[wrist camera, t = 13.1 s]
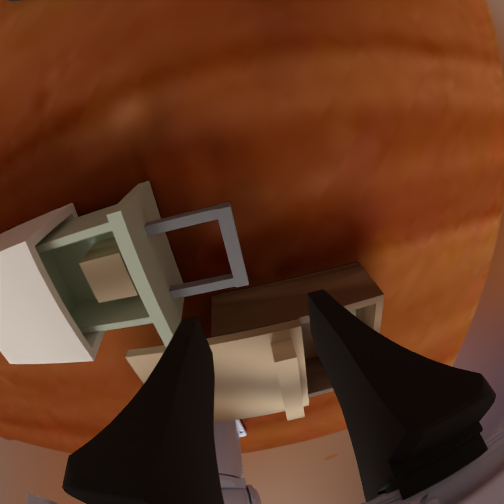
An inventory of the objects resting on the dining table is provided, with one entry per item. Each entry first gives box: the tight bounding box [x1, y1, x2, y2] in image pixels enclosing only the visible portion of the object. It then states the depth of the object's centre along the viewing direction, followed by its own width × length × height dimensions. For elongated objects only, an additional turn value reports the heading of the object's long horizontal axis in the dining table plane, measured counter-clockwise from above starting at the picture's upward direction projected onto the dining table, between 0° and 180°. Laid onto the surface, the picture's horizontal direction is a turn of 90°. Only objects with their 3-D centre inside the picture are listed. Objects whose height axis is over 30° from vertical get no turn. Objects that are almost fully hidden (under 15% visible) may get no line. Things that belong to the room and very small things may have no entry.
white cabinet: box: [0, 203, 106, 364], centre depth 17 cm, size 9×10×6 cm
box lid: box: [125, 319, 309, 423], centre depth 19 cm, size 10×12×2 cm
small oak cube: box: [79, 237, 138, 303], centre depth 17 cm, size 3×3×3 cm
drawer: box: [35, 181, 249, 347], centre depth 17 cm, size 9×15×6 cm, turn 101°
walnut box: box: [211, 262, 384, 398], centre depth 23 cm, size 10×12×5 cm
